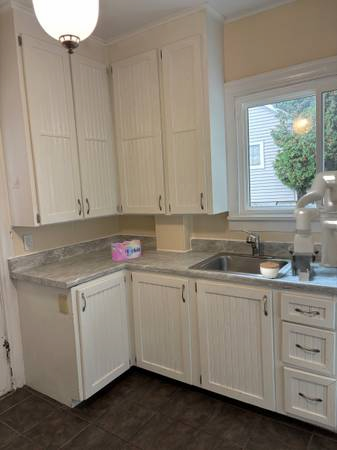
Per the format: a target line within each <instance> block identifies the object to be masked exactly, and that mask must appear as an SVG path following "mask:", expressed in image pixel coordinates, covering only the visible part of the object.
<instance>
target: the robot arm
mask: <svg viewBox="0 0 337 450" xmlns="http://www.w3.org/2000/svg"><path fill="white" fill-rule="evenodd" d="M312 181H313V182H312V183H311V186H310V190H309V192H307V193H306V194H304V195H302V197H300V198H299V199H298V200H297V202H296V204H295V206H294V210H293V218H294V219H295V221H296V222H295V223H296V224H295V227H296V229H293V233H295V235H294V240H293V244H291V245H289V246H287V250H288V252H289V254H290V255H293V261H294V263H295V262H296V259H295V255H297V254H312V255H311V259H312V260H311V261H312V263H313V264H315V262H316V256H317V255H318V254H319V253H320V251H321V261H320V262H319V261H318V265H319V266H320V267H323V266H324V267H325V268H337V233H336V232H337V216H334V215H337V170H325V171H324V170H323V171H321V172H318V173H317V174H316V175H315V176H314V179H313V180H312ZM321 200H323V212H324V213H325V214H328V216H323V217H322V218H321V216H322V212H321V210H320V209H319V208H317V207H307V206H308V205H310V204H313V203H316V202H319V201H321ZM329 215H330V216H329ZM331 215H332V216H331ZM319 220H320V221H319ZM317 221H319V222H320V223H319V224H320V225H319V226H320V231H321V246H319V245H316V244H315V242H314V235H313V233H312V222H317ZM291 249H293V251H292V250H291ZM315 249H316V251H315ZM324 267H323V268H324Z"/></svg>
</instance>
